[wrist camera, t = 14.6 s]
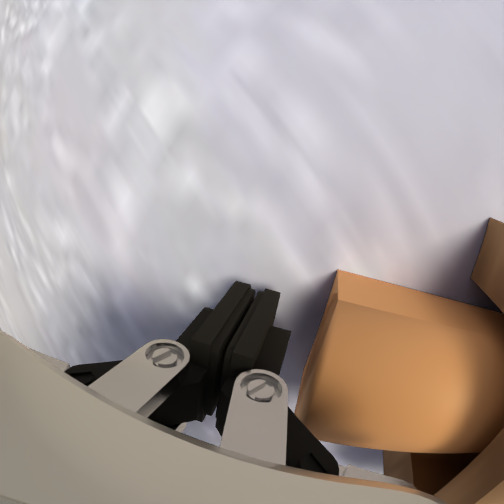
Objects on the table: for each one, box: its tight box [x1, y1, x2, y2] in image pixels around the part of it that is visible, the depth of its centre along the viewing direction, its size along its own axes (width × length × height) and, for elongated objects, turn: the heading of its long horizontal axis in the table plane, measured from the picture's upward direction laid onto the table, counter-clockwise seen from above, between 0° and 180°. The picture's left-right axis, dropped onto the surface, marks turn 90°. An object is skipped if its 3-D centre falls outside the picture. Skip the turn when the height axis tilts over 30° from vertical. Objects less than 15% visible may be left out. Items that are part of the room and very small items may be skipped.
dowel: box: [295, 270, 504, 453], centre depth 8 cm, size 12×5×5 cm, turn 80°
